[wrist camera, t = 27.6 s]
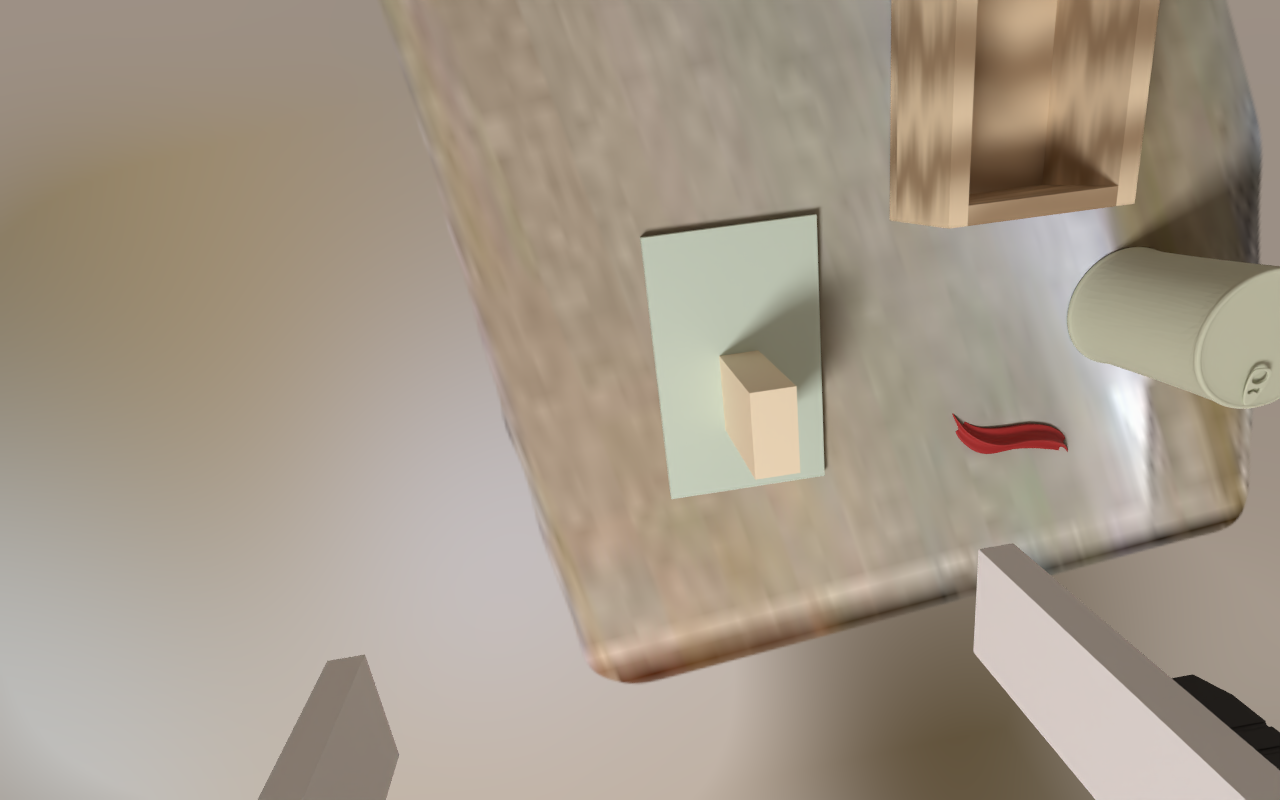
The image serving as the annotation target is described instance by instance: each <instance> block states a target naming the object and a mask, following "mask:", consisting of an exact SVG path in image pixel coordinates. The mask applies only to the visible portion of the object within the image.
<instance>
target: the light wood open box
mask: <svg viewBox="0 0 1280 800" xmlns="http://www.w3.org/2000/svg"><path fill="white" fill-rule="evenodd" d="M1159 4H1160V0H891V142H890V220H891V221H898V222H906V223H913V224H920V225H927V226H935V227H942V228H956V227H963V226H971V225H978V224H986V223H993V222H1001V221H1008V220H1016V219H1023V218H1031V217H1038V216H1046V215H1053V214H1061V213H1068V212H1075V211H1083V210H1090V209H1098V208H1105V207H1113V206H1120V205H1128V204H1134V203H1135V195H1136V187H1137V179H1138V171H1139V163H1140V155H1141V147H1142V139H1143V131H1144V124H1145V116H1146V108H1147V100H1148V92H1149V84H1150V76H1151V68H1152V60H1153V52H1154V44H1155V36H1156V28H1157V20H1158V12H1159Z"/></svg>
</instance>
